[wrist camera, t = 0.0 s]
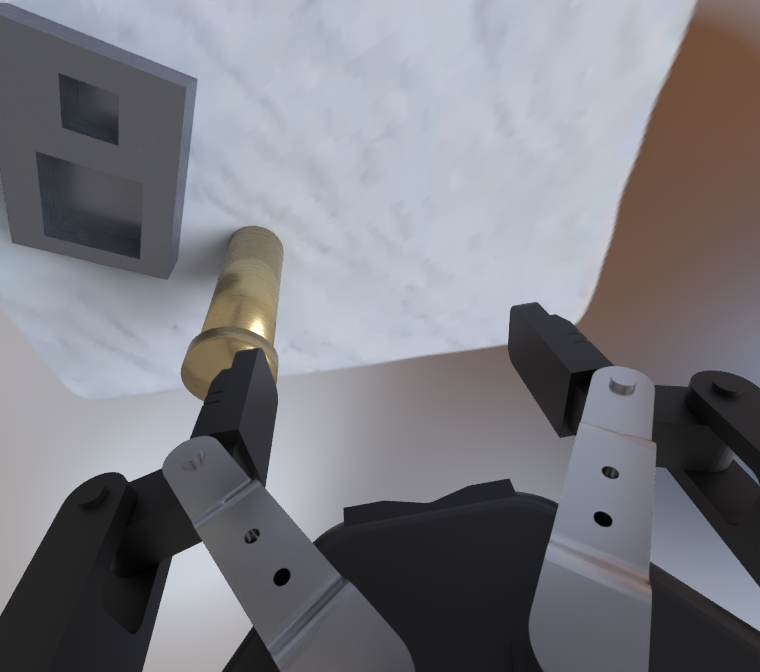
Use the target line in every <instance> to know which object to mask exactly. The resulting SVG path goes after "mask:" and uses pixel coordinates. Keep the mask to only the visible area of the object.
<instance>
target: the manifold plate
mask: <svg viewBox="0 0 760 672" xmlns="http://www.w3.org/2000/svg"><path fill="white" fill-rule="evenodd" d="M196 87H197V79H196V78H193V77H191V76H188V75H186V74H183V73H181V72H178V71H176V70H173V69H171V68H168V67H166V66H163V65H161V64H158V63H156V62H153V61H151V60H148V59H146V58H143V57H141V56H138V55H136V54H133V53H131V52H128V51H126V50H123V49H121V48H118V47H116V46H113V45H111V44H108V43H106V42H103V41H101V40H98V39H96V38H93V37H91V36H88V35H86V34H83V33H81V32H78V31H76V30H73V29H71V28H68V27H66V26H63V25H61V24H58V23H56V22H53V21H51V20H48V19H46V18H43V17H41V16H38V15H36V14H33V13H31V12H28V11H26V10H23V9H21V8H18V7H16V6H13V5H11V4H8V3H1V4H0V170H1V176H2V183H3V189H4V195H5V201H6V207H7V214H8V220H9V226H10V232H11V238H12V243H15V244H19V245H23V246H28V247H32V248H36V249H40V250H44V251H49V252H53V253H57V254H61V255H66V256H70V257H74V258H78V259H82V260H87V261H91V262H95V263H99V264H103V265H108V266H112V267H116V268H120V269H125V270H129V271H133V272H137V273H141V274H146V275H150V276H154V277H158V278H162V279H167V280H168V278H169V276H170V274H171V272H172V270H173V268H174V266H175V264H176V262H177V258H178V249H179V240H180V231H181V222H182V213H183V204H184V195H185V186H186V177H187V168H188V159H189V150H190V141H191V132H192V123H193V114H194V105H195V96H196Z"/></svg>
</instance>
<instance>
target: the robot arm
mask: <svg viewBox="0 0 760 672" xmlns="http://www.w3.org/2000/svg"><path fill="white" fill-rule="evenodd" d="M508 351H509V356H510V360H511V362H512V364H513V366H514V367H515V369H516V370H517V372H518V374H519V375H520V377H521V378H522V380H523V381H524V383H525V384H526V386H527V388H528V389H529V391H530V392H531V394H532V395H533V397H534V399H535V400H536V402H537V403H538V405H539V406H540V408H541V409H542V411H543V412H544V414H545V415H546V417H547V418H548V420H549V422H550V423H551V425H552V426H553V428H554V430H555V431H556V433H557V434H558V436H559V437H560V438H561V437H567V436H573V435H575V436H576V439H575V443H574V447H573V451H572V455H571V459H570V463H569V466H568V470H567V474H566V478H565V482H564V486H563V490H562V494H561V498H560V502H559V504H558V503H556V502H554V501H552V500H549V499H547V498H544V497H541V496H537V495H534V494H529V493H523V492H515V490H514V488H513V486H512V483H511V481H510V479H504V480H499V481H493V482H487V483H482V484H476V485H471V486H467V487H465V488H463V489H461V490H458V491H456V492H454V493H451V494H449V495H447V496H445V497H442V498H440V499H438V500H436V501H434V502H431V503H415V502H398V501H397V502H396V501H380V502H374V503H369V504H363V505H357V506H352V507H346V508H344V522H342V523H340V524H338V525H336V526H335V527H332V528H331V529H329V530H328V531H326V532H325V533H324V534H322V535H321V536H320V537H319V538H317V539H316V540H315V541H314V542H313V543H312V542H311V541H310V539H309V538H308V537H307V536H306V535H305V534H304V533H303V532H302V530H301V529H300V528H299V527H298V526H297V525H296V523H295V522H294V521H293V520H292V519H291V518H290V517H289V515H288V514H287V513H286V512H285V511H284V510H283V509H282V507H281V506H280V505H279V504H278V503H277V502H276V500H275V499H274V498H273V497H272V496H271V495H270V494H269V492H268V491H267V490H266V489H265V486H266V479H267V472H268V466H269V459H270V452H271V446H272V439H273V432H274V426H275V419H276V412H277V406H278V394H277V388H276V384H275V381H274V378H273V375H272V373H271V370H270V367H269V364H268V361H267V358H266V355H265V353H264V351H263V349H262V348H261V347H259V348H253V349H247V350H241V351H237V352H236V354H235V357H234V360H233V363H232V366H231V368H228V369H222V370H221V372H220V373H219V374H218V375H217V376H216V377H215V378H214V379H213V380H212V382H211V384H210V387H209V390H208V392H207V396H206V398H205V400H204V405H203V406H202V408H201V411H200V413H199V416H198V419H197V421H196V424H195V427H194V429H193V432H192V435H191V437H190V440H187V441H185V442H183V443H182V444H180V445H179V446H177V447H176V448H175V449H174V450H173V451H172V452H171V453H170V454H169V455H168V456H167V457H166V459H165V461H164V463H163V467H162V469H159V470H157V471H155V472H153V473H150V474H148V475H146V476H143V477H141V478H138V479H136V480H134V481H131V482H128V481H127V480H126V478H125V477H124V476H123V475H122V474H120V473H116V472H110V473H104V474H101V475H98V476H95V477H93V478H91V479H89V480H88V481H86V482H84V483H83V484H81V485H80V486H79V487H77V488H76V489H75V490H74V491H73V492H72V493H71V494H70V495H69V496H68V497H67V498H66V500H65V501H64V503H63V504H62V506H61V508H60V510H59V512H58V513H57V515H56V517H55V519H54V520H53V522H52V524H51V526H50V528H49V529H48V531H47V533H46V535H45V537H44V539H43V540H42V542H41V544H40V546H39V547H38V549H37V551H36V553H35V555H34V556H33V558H32V560H31V562H30V564H29V565H28V567H27V569H26V571H25V573H24V574H23V577H22V578H21V580H20V582H19V583H18V585H17V587H16V589H15V591H14V592H13V594H12V596H11V598H10V600H9V601H8V603H7V605H6V607H5V609H4V610H3V612H2V614H1V616H0V672H142V670H143V666H144V662H145V658H146V654H147V651H148V647H149V643H150V640H151V636H152V632H153V628H154V624H155V620H156V617H157V613H158V609H159V605H160V601H161V598H162V594H163V590H164V587H165V583H166V579H167V575H168V571H169V567H170V563H171V559H172V556H173V555H175V554H177V553H179V552H181V551H183V550H186V549H188V548H190V547H192V546H194V545H196V544H198V543H200V542H202V541H203V543H204V544H205V546H206V548H207V549H208V551H209V553H210V554H211V556H212V558H213V559H214V561H215V563H216V564H217V566H218V567H219V569H220V571H221V573H222V574H223V576H224V577H225V579H226V581H227V582H228V584H229V586H230V588H231V589H232V591H233V592H234V594H235V596H236V597H237V599H238V601H239V602H240V604H241V606H242V607H243V609H244V611H245V612H246V614H247V616H248V617H249V619H250V621H251V622H252V624H253V627H252V628H251V630H250V631H249V633H248V634H247V636H246V637H245V639H244V640H243V642H242V643H241V645H240V646H239V647H238V649H237V650H236V652H235V653H234V655H233V657H232V658H231V659H230V661H229V662H228V663H227V665H226V666H225V668H224V669H223V671H222V672H760V631H758V630H757V629H755V628H753V627H751V626H750V625H749V624H747V623H745V622H744V621H742V620H741V619H739V618H738V617H736V616H734V615H733V614H731V613H730V612H728V611H727V610H725V609H723V608H722V607H721V606H719V605H717V604H716V603H714V602H713V601H711V600H710V599H708V598H706V597H705V596H703V595H702V594H700V593H699V592H697V591H696V590H694V589H692V588H691V587H689V586H688V585H686V584H685V583H683V582H681V581H680V580H678V579H676V578H675V577H674V576H672V575H670V574H669V573H667V572H666V571H664V570H663V569H661V568H659V567H658V566H656V565H655V564H653V563H652V562H650V549H651V533H652V516H653V499H654V482H655V467H664V468H667V469H668V471H669V472H670V473H671V475H672V476H673V477H674V478H675V480H676V481H677V482H678V483H679V485H680V486H681V487H682V488H683V490H684V491H685V492H686V494H687V495H688V496H689V498H690V499H691V500H692V501H693V503H694V504H695V505H696V506H697V508H698V509H699V510H700V512H701V513H702V514H703V515H704V517H705V518H706V519H707V521H708V522H709V523H710V524H711V526H712V527H713V528H714V529H715V531H716V532H717V533H718V534H719V536H720V537H721V538H722V540H723V541H724V542H725V543H726V545H727V546H728V547H729V549H730V550H731V551H732V552H733V554H734V555H735V556H736V557H737V559H738V560H739V561H740V562H741V564H742V565H743V566H744V568H745V569H746V570H747V572H748V573H749V574H750V575H751V577H752V578H753V579H754V580H755V582H756V583H757V584H758V586H759V587H760V486H759V485H758V484H757V483H756V482H755V481H754V480H753V479H752V478H751V477H750V476H749V475H748V474H747V473H746V472H745V471H744V470H743V469H742V468H741V467H740V466H739V465H738V463H737V462H736V461H735V460H734V459H733V458H734V456H735V454H736V455H737V456H738V457H739V458H740V459H741V460H742V461H743V462H744V463H745V464H746V465H747V466H748V467H749V468H750V469H751V470H752V471H753V472H754V474H755V475H756V477H757V478H758V481H759V484H760V388H759V387H757V386H756V385H755V384H753V383H752V382H750V381H748V380H747V379H745V378H742V377H740V376H737V375H734V374H731V373H727V372H722V371H702V372H699V373H696V374H695V375H693V376H692V378H691V380H690V383H689V385H688V387H680V386H661V385H654V384H653V383H652V381H651V380H650V379H649V378H648V377H646V376H645V375H643V374H642V373H640V372H638V371H636V370H633V369H630V368H626V367H618V366H614V365H613V364H612V363H611V362H610V361H609V360H608V359H607V358H606V357H605V356H604V355H603V354H602V353H601V352H600V351H599V350H598V349H597V348H596V347H595V346H594V345H593V344H592V343H591V342H590V341H588V340H587V338H586V337H585V336H584V335H583V334H582V333H580V331H579V330H578V329H577V328H576V327H575V326H574V325H573V324H572V323H571V322H570V321H568V320H566V319H564V318H562V317H560V316H558V315H556V314H555V315H549V314H548V313H547V312H546V311H545V310H544V309H543V308H542V306H541V305H540V304H539V303H537V302H533V303H527V304H521V305H515V306H512V308H511V310H510V322H509V339H508Z"/></svg>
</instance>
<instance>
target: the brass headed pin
mask: <svg viewBox="0 0 760 672" xmlns="http://www.w3.org/2000/svg"><path fill="white" fill-rule="evenodd" d="M283 253H284V251H283V246H282V243H281V241H280V240H279V238H278V237H277V236H276V235H275V234H274V233H273V232H271V231H270V230H268V229H265V228H263V227H258V226H249V227H244V228H242V229H240V230H238V231H237V232H236V233H235V234H234V235H233V237H232V239H231V241H230V244H229V248H228V251H227V254H226V257H225V260H224V263H223V266H222V269H221V272H220V275H219V279H218V282H217V285H216V288H215V291H214V294H213V297H212V300H211V303H210V306H209V310H208V313H207V316H206V319H205V322H204V325H203V328H202V331H201V333H200V334H199V335H198V336H196V337H195V338H194V339H193V340H192V342H191V343H190V345H189V347H188V350H187V353H186V356H185V359H184V361H183V364H182V368H181V378H182V381H183V383H184V385H185V387H186V388H187V389H188V390H189V391H190V392H191V393H192V394H193V395H194V396H196V397H197V398H199V399H201V400H203V401H204V400H205V398H206V396H207V392H208V390H209V387H210V384H211V382H212V380H213V379H214V378H215V377H216V376H217V375H218V374H219V373H220V372H221V370H222V369H228V368H231V366H232V363H233V360H234V357H235V354H236V352H237V351H241V350H247V349H253V348H259V347H261V348H262V349H263V351H264V353H265V355H266V358H267V361H268V364H269V367H270V370H271V373H272V375H273V378H274V381H275V384H276V383H277V373H278V355H277V352H276V350H275V348H274V347H273V346H274V337H275V328H276V319H277V309H278V300H279V291H280V282H281V272H282V263H283Z"/></svg>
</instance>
